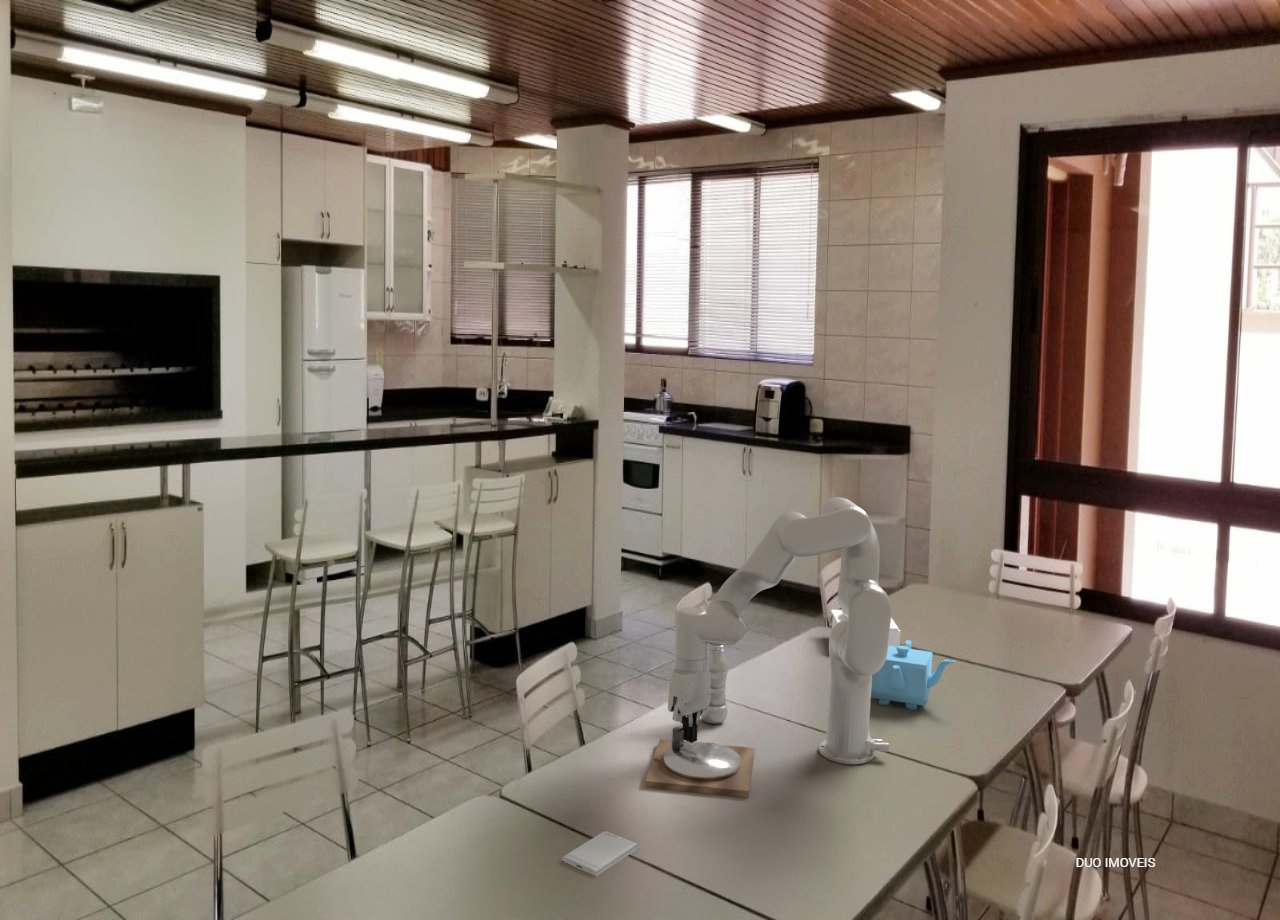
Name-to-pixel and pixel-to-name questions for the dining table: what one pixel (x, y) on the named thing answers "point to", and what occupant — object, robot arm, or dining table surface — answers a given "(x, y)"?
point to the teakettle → (906, 676)
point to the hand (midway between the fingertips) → (689, 740)
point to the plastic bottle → (716, 685)
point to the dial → (700, 759)
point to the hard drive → (600, 853)
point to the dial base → (726, 786)
